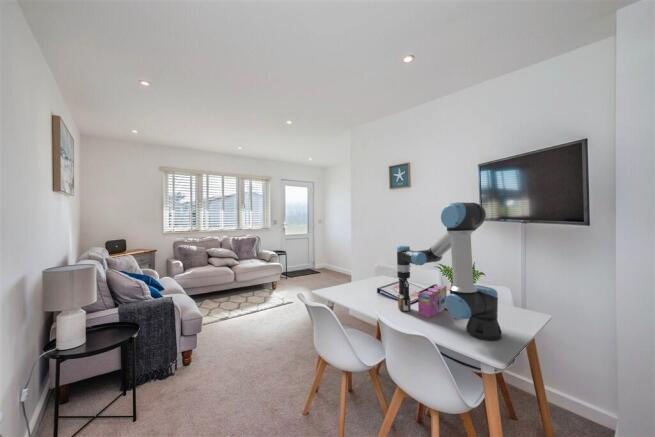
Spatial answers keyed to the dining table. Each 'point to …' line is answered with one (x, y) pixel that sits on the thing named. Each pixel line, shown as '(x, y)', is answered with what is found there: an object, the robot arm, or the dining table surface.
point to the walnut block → (400, 303)
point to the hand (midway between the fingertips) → (404, 308)
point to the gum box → (431, 300)
